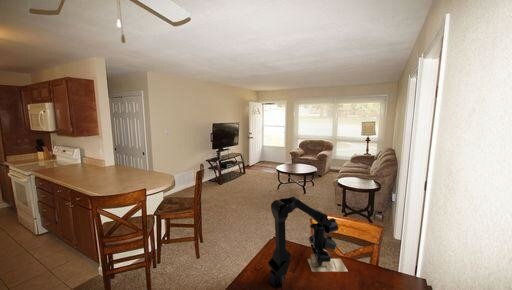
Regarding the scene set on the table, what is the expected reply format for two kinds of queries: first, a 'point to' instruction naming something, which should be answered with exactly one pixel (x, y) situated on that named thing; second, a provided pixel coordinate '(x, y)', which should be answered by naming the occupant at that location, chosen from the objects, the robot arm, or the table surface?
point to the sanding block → (315, 263)
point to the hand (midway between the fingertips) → (318, 263)
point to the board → (329, 266)
